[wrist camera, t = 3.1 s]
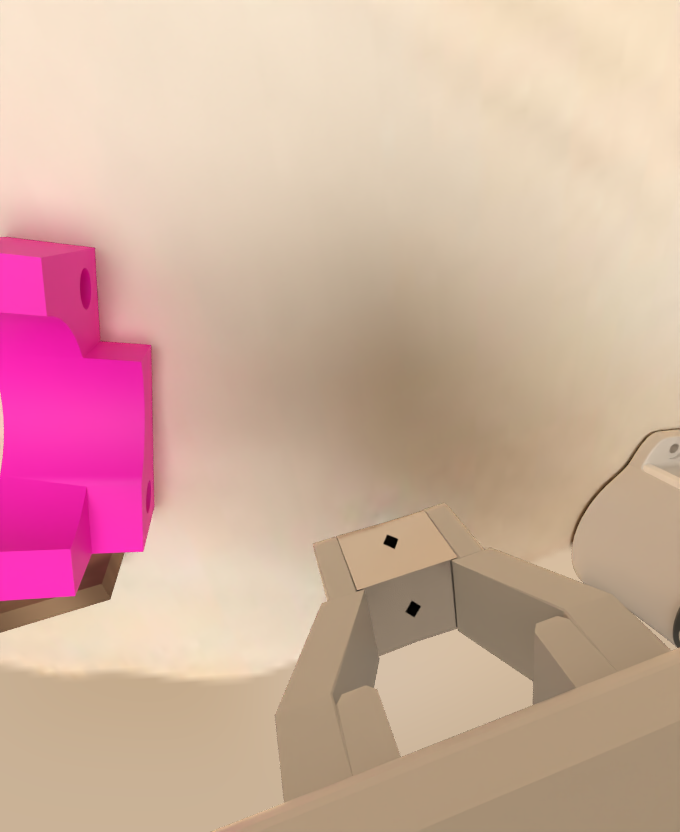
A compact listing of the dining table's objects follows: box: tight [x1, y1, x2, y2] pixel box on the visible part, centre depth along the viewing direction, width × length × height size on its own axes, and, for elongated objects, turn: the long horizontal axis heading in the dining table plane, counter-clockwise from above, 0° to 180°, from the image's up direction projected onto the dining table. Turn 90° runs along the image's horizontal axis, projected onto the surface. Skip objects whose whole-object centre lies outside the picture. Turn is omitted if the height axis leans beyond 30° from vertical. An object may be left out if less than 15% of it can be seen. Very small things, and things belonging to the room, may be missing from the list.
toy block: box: [0, 237, 154, 601], centre depth 21 cm, size 15×6×8 cm, turn 172°
